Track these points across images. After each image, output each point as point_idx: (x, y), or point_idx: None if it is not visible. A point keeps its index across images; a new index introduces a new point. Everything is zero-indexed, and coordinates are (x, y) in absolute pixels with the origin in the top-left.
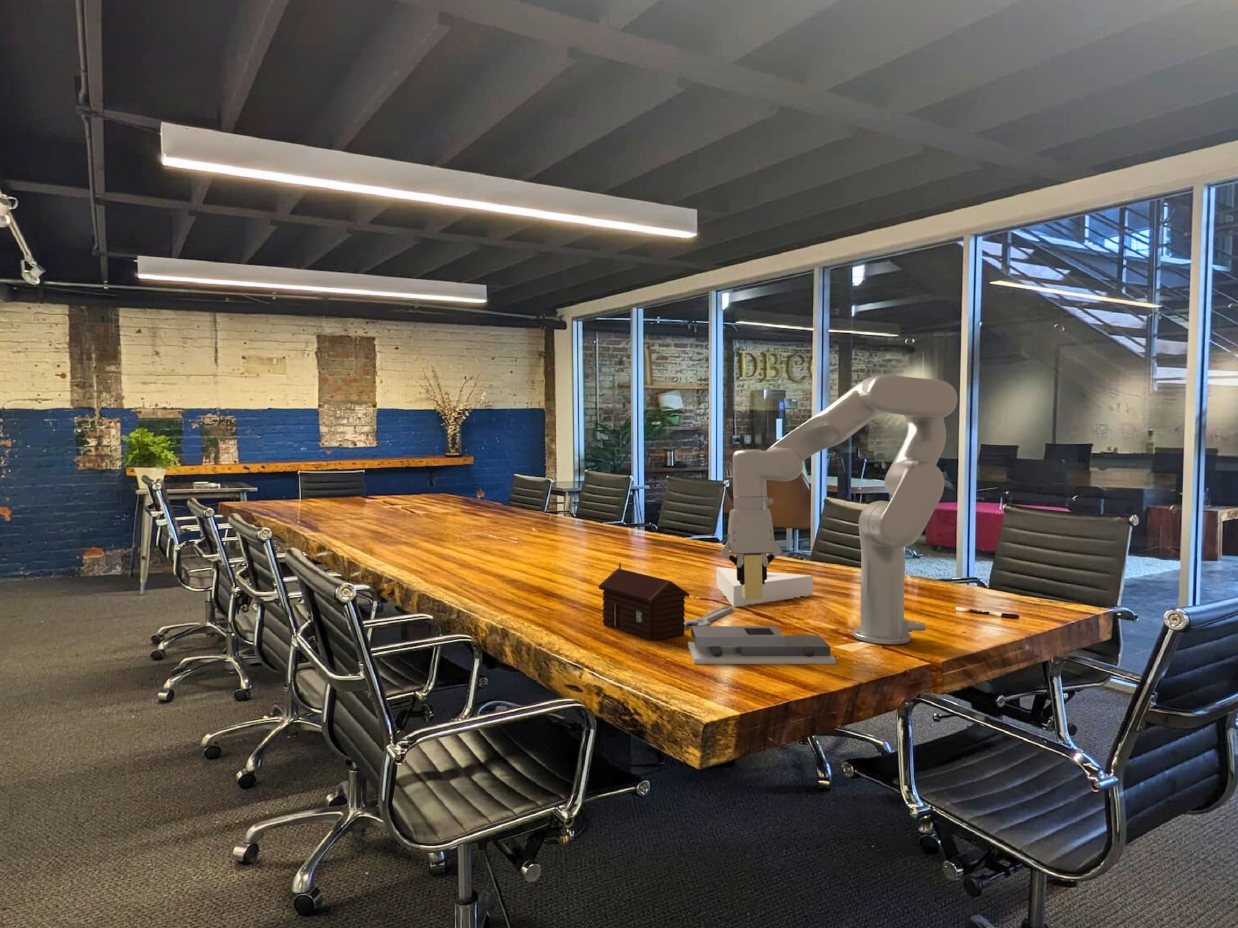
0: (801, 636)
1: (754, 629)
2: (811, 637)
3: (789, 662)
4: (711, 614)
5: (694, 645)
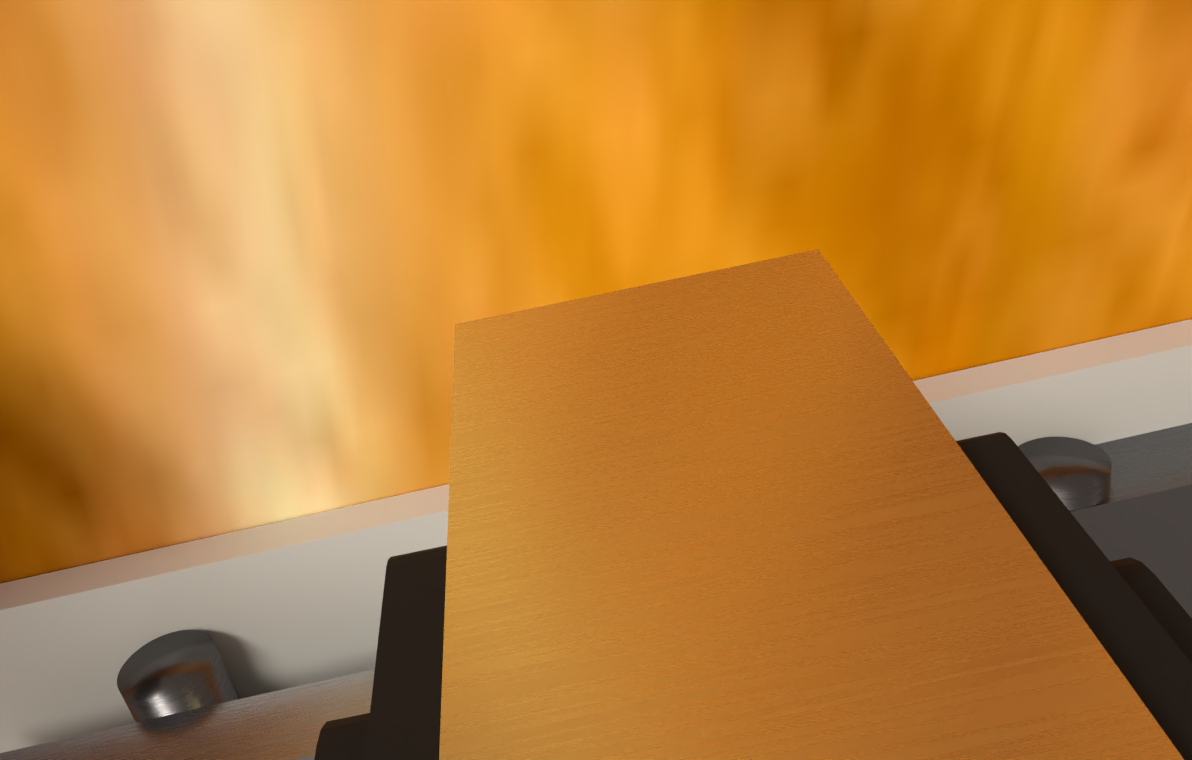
0: (1100, 541)
1: None
2: (1187, 556)
3: None
4: None
5: (26, 720)
